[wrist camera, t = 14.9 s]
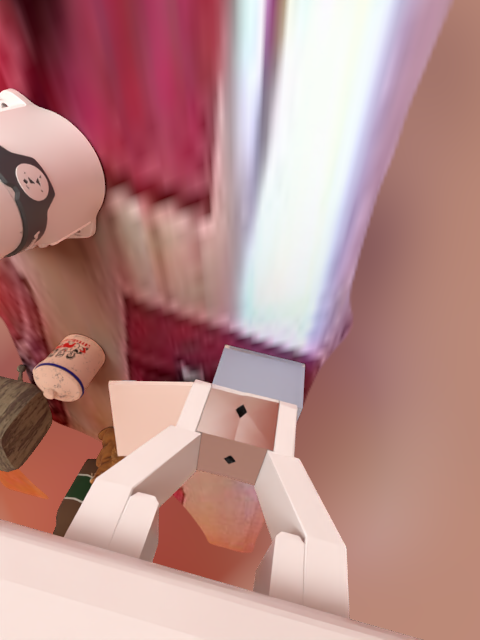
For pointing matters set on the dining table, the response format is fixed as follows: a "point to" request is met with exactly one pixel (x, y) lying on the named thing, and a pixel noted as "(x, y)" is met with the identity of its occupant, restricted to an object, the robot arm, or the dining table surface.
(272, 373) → the box
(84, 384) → the teacup with lid
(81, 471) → the beer bottle
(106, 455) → the stuffed squirrel
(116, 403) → the lid
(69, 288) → the dining table surface
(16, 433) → the brown cowbell
